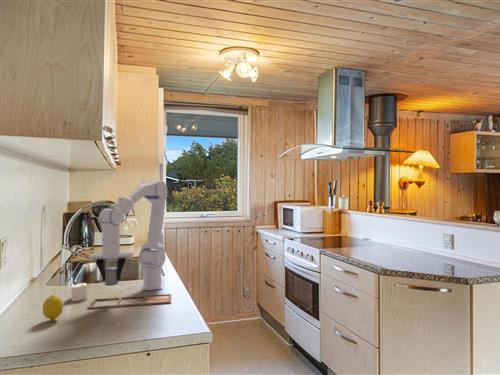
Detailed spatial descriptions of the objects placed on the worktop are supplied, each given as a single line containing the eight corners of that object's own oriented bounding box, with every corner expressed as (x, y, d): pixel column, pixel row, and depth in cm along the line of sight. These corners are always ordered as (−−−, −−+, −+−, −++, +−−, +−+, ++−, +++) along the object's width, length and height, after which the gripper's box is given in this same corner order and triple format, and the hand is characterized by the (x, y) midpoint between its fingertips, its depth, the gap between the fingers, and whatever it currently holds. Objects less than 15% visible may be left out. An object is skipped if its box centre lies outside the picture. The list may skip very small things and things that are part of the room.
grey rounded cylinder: (106, 282, 134) (106, 267, 134) (119, 282, 135) (118, 267, 135) (103, 285, 130) (103, 270, 130) (116, 285, 131) (116, 269, 131)
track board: (94, 300, 136) (94, 298, 136) (171, 295, 141) (171, 293, 141) (87, 309, 126) (87, 307, 126) (170, 303, 131) (170, 301, 131)
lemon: (40, 324, 112) (40, 298, 112) (45, 318, 118) (45, 293, 118) (60, 322, 114) (60, 296, 114) (64, 316, 119) (64, 291, 119)
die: (71, 297, 140) (71, 284, 140) (86, 295, 142) (86, 282, 142) (71, 301, 135) (71, 287, 135) (86, 299, 137) (86, 285, 137)
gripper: (86, 244, 127) (87, 284, 127) (130, 242, 130) (131, 281, 130) (91, 241, 134) (92, 279, 134) (133, 239, 137) (133, 276, 137)
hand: (111, 279), depth 132 cm, fingers closed on grey rounded cylinder, 4 cm apart
